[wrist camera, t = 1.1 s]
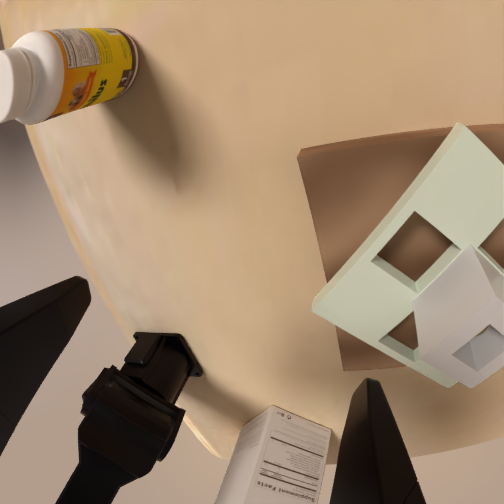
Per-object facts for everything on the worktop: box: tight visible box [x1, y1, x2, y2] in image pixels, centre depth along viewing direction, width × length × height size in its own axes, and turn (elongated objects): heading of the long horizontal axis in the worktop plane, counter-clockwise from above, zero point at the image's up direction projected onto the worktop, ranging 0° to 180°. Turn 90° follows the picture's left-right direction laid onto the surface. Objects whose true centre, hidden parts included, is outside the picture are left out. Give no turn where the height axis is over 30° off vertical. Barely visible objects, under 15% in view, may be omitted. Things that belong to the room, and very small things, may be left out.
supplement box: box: [214, 405, 332, 504], centre depth 31 cm, size 9×9×15 cm
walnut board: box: [297, 124, 504, 371], centre depth 17 cm, size 18×18×7 cm
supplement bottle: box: [0, 28, 138, 125], centre depth 15 cm, size 6×6×10 cm
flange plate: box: [311, 122, 504, 389], centre depth 15 cm, size 14×14×6 cm
